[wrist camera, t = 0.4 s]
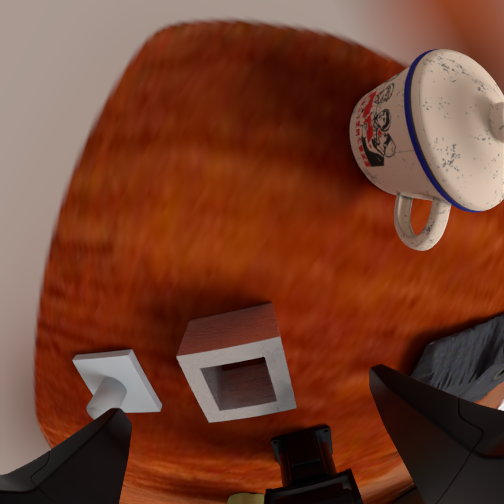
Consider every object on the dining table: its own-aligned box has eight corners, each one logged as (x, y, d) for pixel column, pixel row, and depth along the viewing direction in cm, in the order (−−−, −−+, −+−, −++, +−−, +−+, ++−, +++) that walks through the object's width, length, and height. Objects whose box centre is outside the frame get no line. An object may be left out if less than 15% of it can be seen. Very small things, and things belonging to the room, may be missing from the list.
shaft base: (162, 404, 23) (149, 446, 18) (107, 406, 24) (89, 441, 18) (132, 349, 22) (108, 388, 16) (76, 354, 22) (49, 387, 16)
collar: (287, 368, 22) (296, 408, 18) (214, 382, 23) (209, 422, 18) (272, 302, 21) (279, 336, 16) (189, 320, 21) (176, 356, 16)
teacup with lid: (354, 69, 17) (439, -4, 5) (444, 114, 17) (545, 95, 6) (323, 217, 19) (413, 263, 8) (419, 245, 20) (523, 296, 9)
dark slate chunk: (422, 312, 22) (449, 335, 18) (523, 305, 23) (544, 317, 19) (375, 424, 26) (388, 451, 21) (484, 393, 27) (499, 409, 22)
